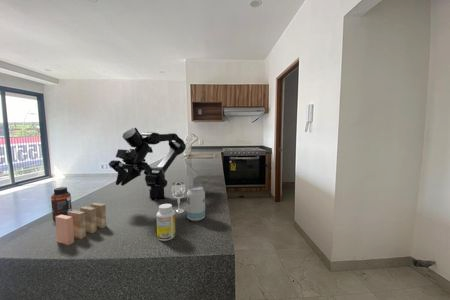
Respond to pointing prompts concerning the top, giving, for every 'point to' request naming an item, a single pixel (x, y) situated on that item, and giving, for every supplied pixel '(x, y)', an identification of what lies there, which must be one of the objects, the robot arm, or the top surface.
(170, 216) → the supplement bottle
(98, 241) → the top surface
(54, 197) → the supplement bottle
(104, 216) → the domino
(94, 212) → the domino
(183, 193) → the wineglass
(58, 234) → the domino
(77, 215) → the domino
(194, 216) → the beverage can
